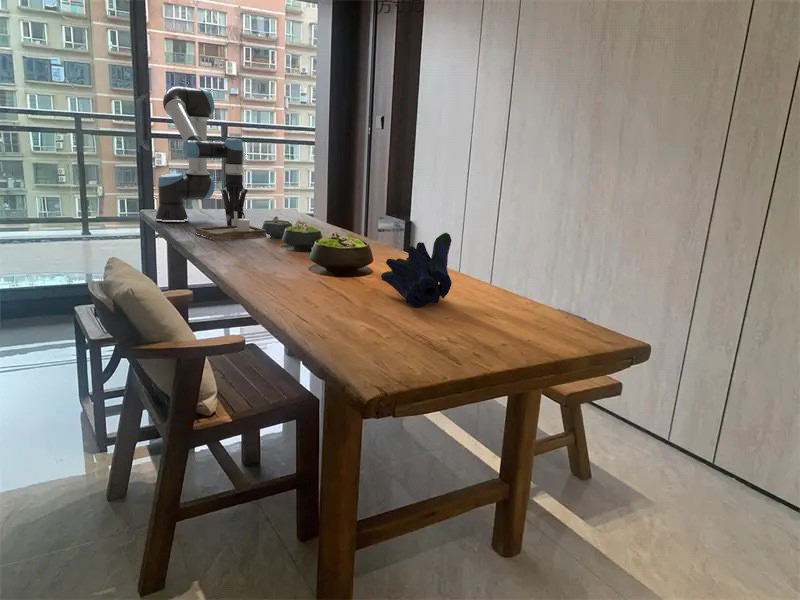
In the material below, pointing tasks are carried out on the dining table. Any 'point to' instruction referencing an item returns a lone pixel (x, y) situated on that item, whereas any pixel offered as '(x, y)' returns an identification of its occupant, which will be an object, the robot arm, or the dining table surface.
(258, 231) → the tray
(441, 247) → the dark blue branching piece
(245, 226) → the block
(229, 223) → the coffee mug
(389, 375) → the dining table surface
